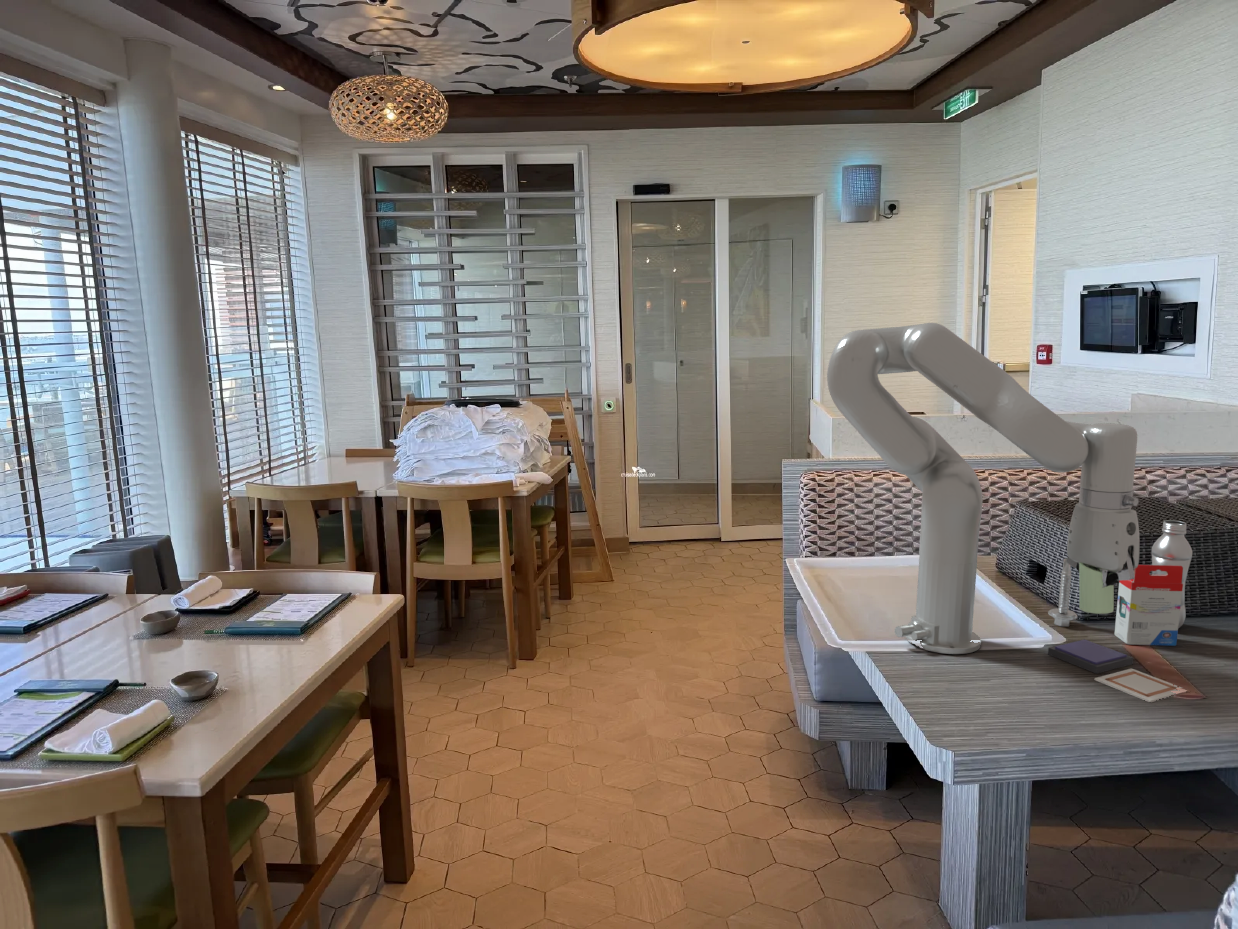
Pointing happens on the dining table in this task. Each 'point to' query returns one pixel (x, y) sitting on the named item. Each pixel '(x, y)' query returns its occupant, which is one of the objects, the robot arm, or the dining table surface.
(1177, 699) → the dining table surface
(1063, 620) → the screw
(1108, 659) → the ink pad
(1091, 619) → the dining table surface
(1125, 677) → the square coaster
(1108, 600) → the candle
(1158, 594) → the ink box
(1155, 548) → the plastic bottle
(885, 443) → the robot arm
